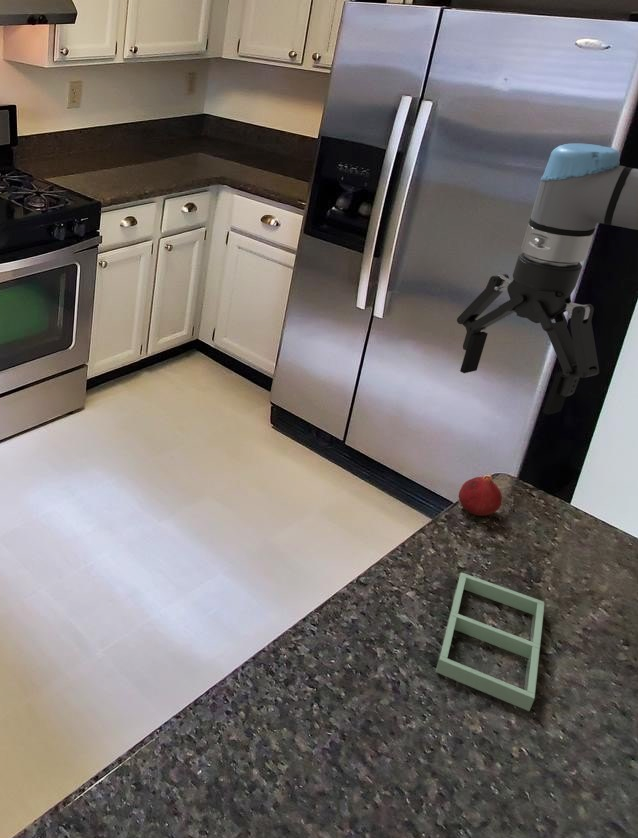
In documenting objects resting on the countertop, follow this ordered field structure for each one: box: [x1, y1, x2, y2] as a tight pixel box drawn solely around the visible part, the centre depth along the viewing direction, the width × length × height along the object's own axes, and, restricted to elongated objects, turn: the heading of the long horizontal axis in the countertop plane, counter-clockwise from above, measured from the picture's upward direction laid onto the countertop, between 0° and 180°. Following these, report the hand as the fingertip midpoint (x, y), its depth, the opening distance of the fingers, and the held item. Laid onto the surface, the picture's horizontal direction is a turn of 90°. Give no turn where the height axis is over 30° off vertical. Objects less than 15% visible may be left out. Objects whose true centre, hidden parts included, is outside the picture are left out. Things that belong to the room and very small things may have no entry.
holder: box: [435, 572, 545, 712], centre depth 105 cm, size 19×10×3 cm, turn 144°
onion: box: [458, 474, 503, 517], centre depth 128 cm, size 6×6×8 cm
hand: (507, 390), depth 120 cm, fingers open, 13 cm apart
